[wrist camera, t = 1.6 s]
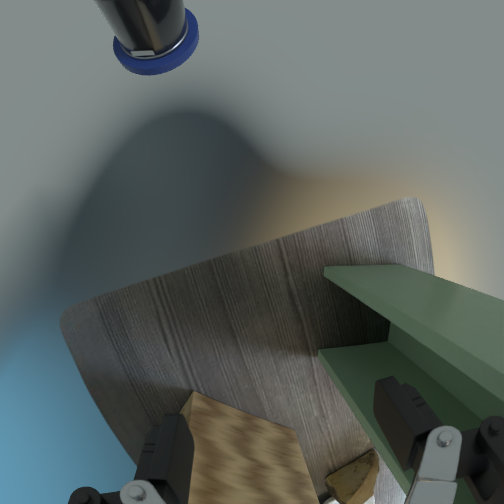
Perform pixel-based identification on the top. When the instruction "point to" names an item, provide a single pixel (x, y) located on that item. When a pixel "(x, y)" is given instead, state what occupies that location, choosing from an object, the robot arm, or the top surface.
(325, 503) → the spoon rest
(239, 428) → the block
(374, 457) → the rock
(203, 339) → the top surface
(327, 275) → the tall green cabinet
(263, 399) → the top surface
